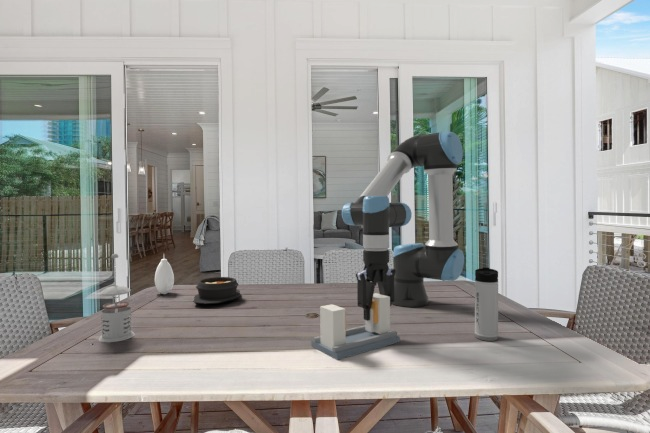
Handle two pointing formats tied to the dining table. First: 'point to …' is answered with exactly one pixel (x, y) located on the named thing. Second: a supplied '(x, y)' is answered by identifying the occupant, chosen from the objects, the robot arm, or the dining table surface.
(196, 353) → the dining table surface
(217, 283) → the casserole
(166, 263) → the bulb air blower
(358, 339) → the rail
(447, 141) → the robot arm
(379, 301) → the white block orange panel
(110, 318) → the french press
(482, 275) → the travel mug
